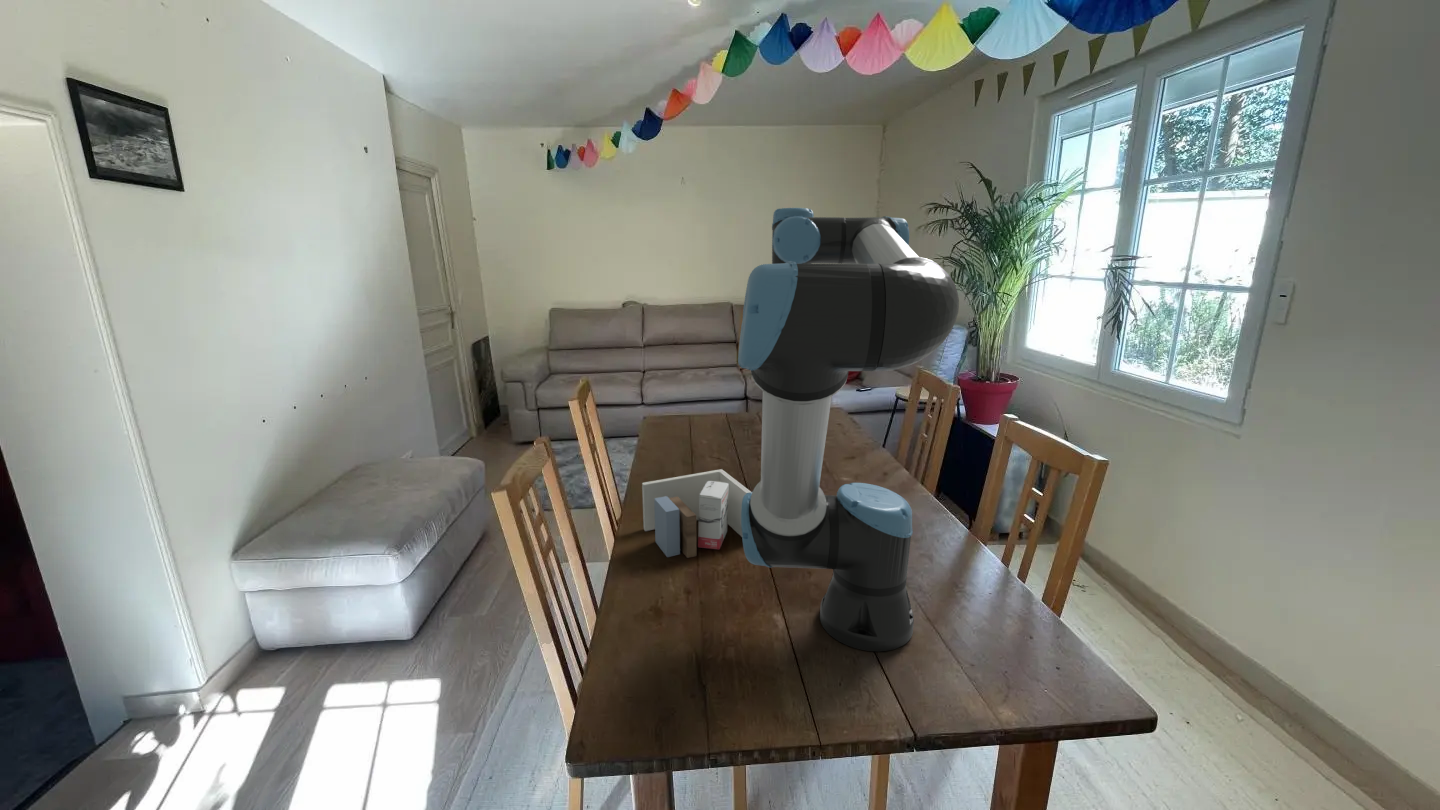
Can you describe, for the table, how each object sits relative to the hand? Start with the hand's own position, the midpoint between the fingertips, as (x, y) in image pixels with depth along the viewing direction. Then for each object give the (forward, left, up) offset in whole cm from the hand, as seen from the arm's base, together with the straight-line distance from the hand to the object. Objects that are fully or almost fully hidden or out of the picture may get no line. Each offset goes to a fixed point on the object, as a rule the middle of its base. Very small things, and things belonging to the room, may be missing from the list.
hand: (786, 401), depth 117 cm
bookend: (+7, +20, -31) cm, 37 cm away
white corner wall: (+10, +15, -31) cm, 36 cm away
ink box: (+7, +13, -31) cm, 34 cm away
